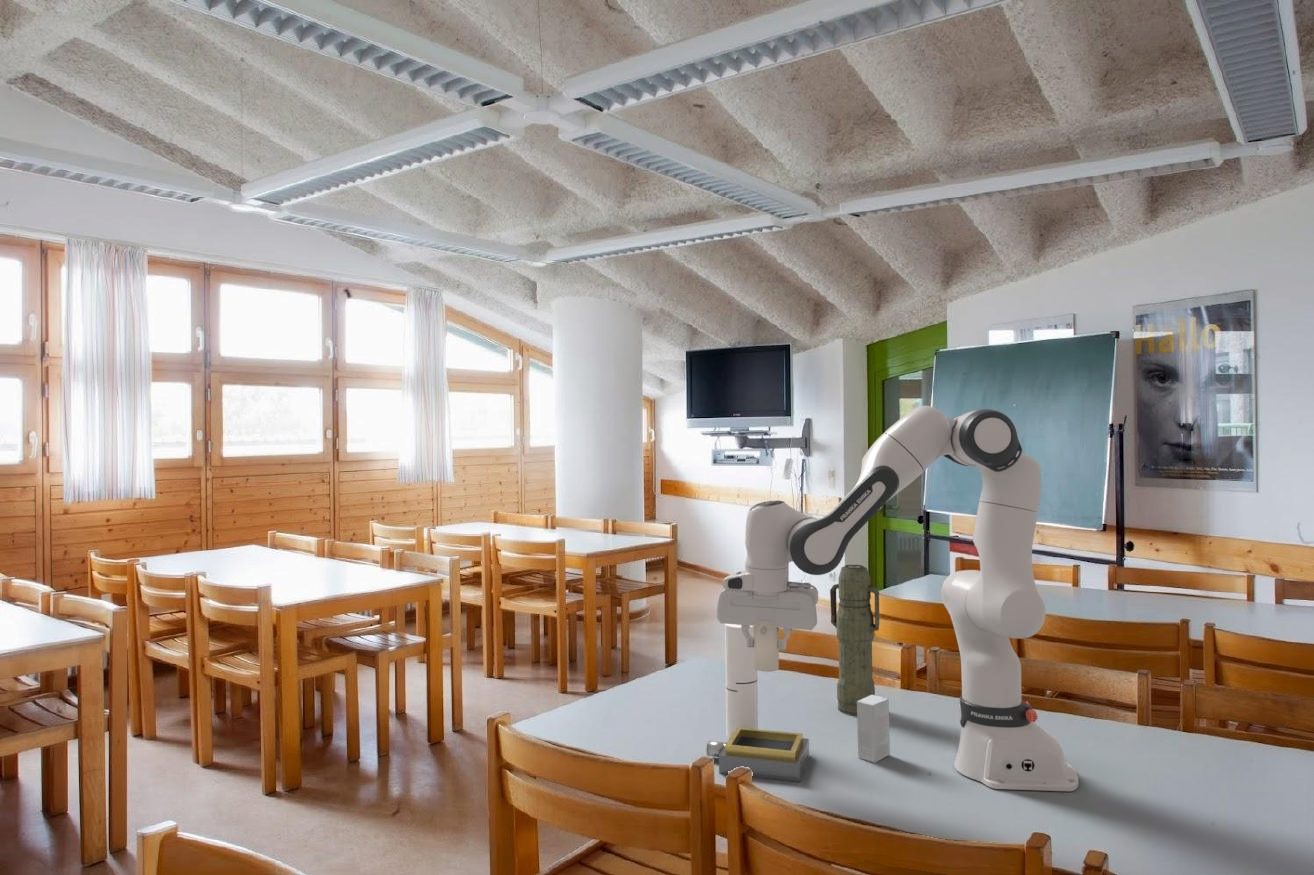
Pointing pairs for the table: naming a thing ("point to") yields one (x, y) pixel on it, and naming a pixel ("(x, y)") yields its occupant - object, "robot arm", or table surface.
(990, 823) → the table surface
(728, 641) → the cylindrical container
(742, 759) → the box
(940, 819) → the table surface
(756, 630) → the spout can
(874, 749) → the skincare box
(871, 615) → the thermos
